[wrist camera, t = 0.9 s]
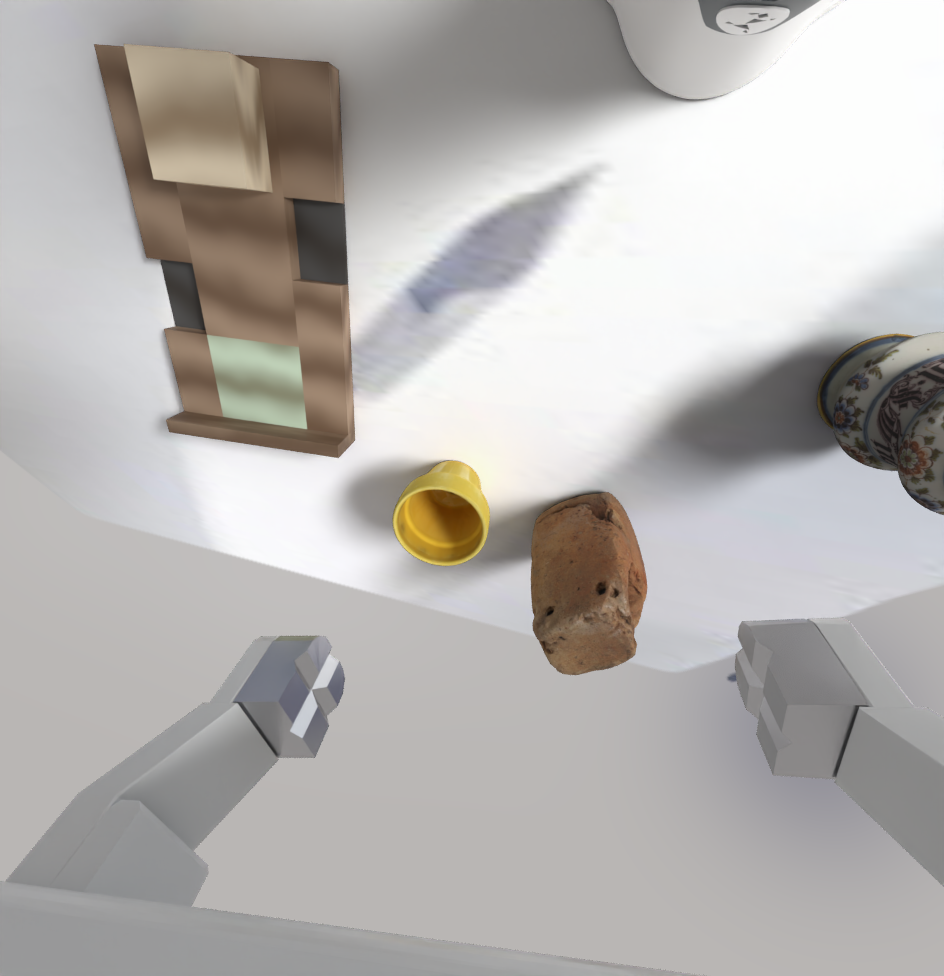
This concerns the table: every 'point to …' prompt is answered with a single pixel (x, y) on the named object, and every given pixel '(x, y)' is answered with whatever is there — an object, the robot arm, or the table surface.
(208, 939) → the robot arm
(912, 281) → the table surface
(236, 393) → the box
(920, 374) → the apothecary jar
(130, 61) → the maple block
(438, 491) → the plant pot
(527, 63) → the table surface
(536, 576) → the block
